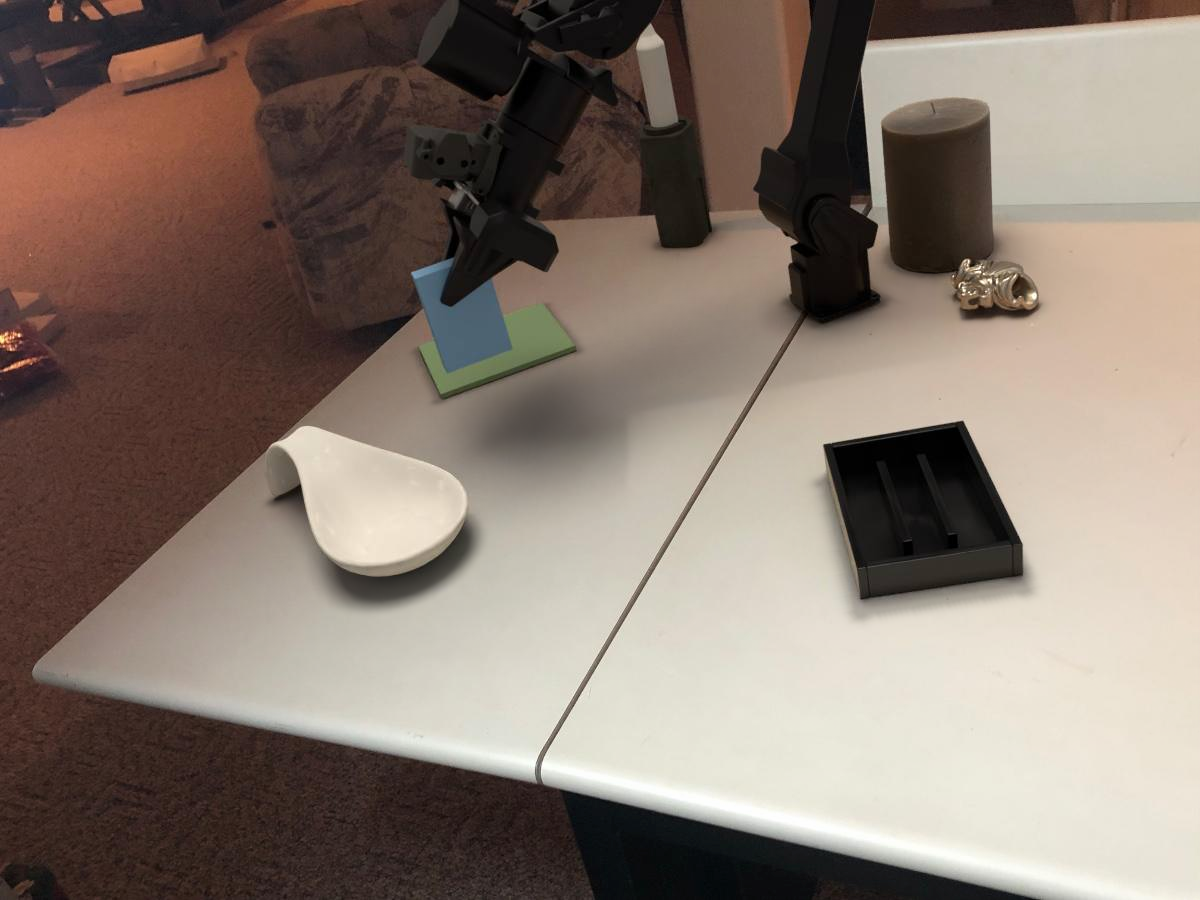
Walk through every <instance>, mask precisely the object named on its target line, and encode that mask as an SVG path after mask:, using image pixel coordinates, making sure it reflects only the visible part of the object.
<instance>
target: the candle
mask: <svg viewBox="0 0 1200 900" xmlns="http://www.w3.org/2000/svg"><path fill="white" fill-rule="evenodd" d="M635 50H636V51H635V52H636V55H637V61H638V65H639V70H640V76H641V80H642V85H643V90H644V91H643V92H644V95H645V101H646V105H647V111H648V116H649V120H648V121H647V122H646V124H644V125H643V131H642V132H641V133H640V134H639V135H638V140H639V145H640V151H641V156H642V161H643V165H644V169H645V175H646V181H647V185H648V189H649V193H650V198H651V199H650V200H651V204H652V209H653V214H654V218H655V219H654V220H655V223H656V224H655V225H656V229H657V232H658V233H657V234H658V239H659V243H660V246H661V247H662V248H694V247H698V246H700V245H701V244H703V243H704V240H705V238H706V237H707V236H708V234H710V233H712V231H713V227H712V221H711V214H710V210H709V203H708V198H707V197H708V196H707V192H706V187H705V181H704V175H703V170H702V163H701V157H700V153H699V148H698V141H697V136H696V130H695V125H694V120H693V119H691V118H686V115H683V114H678V111H677V106H676V101H675V95H674V90H673V89H674V88H673V84H672V78H671V73H670V67H669V63H668V56H667V52H666V46H665V42H664V39H662V38H661V37H660V36H659V35H658V33H657V32H656V30H655V28H654V27H653V25H652V22H651V23H650V24H649V26H648V27H647V28H646V29H645V30H644V32H643V33H642V34H641V35H640V36H639V38H638V41H637V44H636V47H635Z"/></svg>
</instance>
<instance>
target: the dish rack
mask: <svg viewBox="0 0 1200 900" xmlns="http://www.w3.org/2000/svg"><path fill="white" fill-rule="evenodd" d="M966 425H967V424H965V421H964V420H957V421H952V422H947V423H941V424H936V425H929V426H923V427H917V428H910V429H905V430H899V431H893V432H888V433H882V434H876V435H870V436H863V437H858V438H852V439H846V440H841V441H833V442H828V443H823V444H822V448H823V456H824V464H825V470H826V471H825V472H826V475H827V479H828V484H829V486H830V490H831V494H832V498H833V502H834V506H835V509H836V513H837V517H838V520H839V524H840V529H841V532H842V535H843V539H844V543H845V546H846V550H847V554H848V558H849V562H850V566H851V569H852V572H853V577H854V580H855V584H856V588H857V592H858V595H859V600H867V599H868V600H869V599H873V598H881V597H887V596H893V595H894V596H895V595H900V594H907V593H914V592H922V591H928V590H934V589H941V588H948V587H954V586H961V585H968V584H976V583H981V582H988V581H995V580H1001V579H1008V578H1015V577H1022V576H1024V544H1023V541H1022V540H1021V537H1020V535H1019V532H1018V530H1017V529H1016V527H1015V525H1014V523H1013V521H1012V519H1011V516H1010V514H1009V512H1008V510H1007V508H1006V506H1005V504H1004V502H1003V500H1002V497H1001V495H1000V494H999V492H998V489H997V488H996V486H995V483H994V481H993V479H992V477H991V475H990V473H989V470H988V468H987V467H986V465H985V463H984V460H983V458H982V456H981V455H980V452H979V449H978V447H977V445H976V444H975V441H974V439H973V437H972V436H971V434H970V431H969V429H968V427H967V426H966Z"/></svg>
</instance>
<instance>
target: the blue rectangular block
mask: <svg viewBox="0 0 1200 900" xmlns="http://www.w3.org/2000/svg"><path fill="white" fill-rule="evenodd" d="M453 260H454V258H451V259H448V260H445V261H442V260H441V261H442V262H441V261H439V262H437V263H435V264H431V265H428V266H425V267H423V268H419V269H417V270H415V271H411V272H410V274H411V278H412V280H413V283H414V286H415V289H416V291H417V294H418V297H419V300H420V303H421V305H422V308H423V312H424V315H425V318H426V321H427V324H428V326H429V329H430V332H431V336H432V338H433V340H434V341H435V344H436V346H437V349H438V352H439V355H440V358H441V361H442V364H443V366H444V368H445V370H446V372H447V373H450V372H453V371H456V370H458V369H461V368H464V367H466V366H469V365H472V364H474V363H477V362H480V361H482V360H485V359H488V358H490V357H493V356H496V355H499V354H501V353H504V352H507V351H509V350H512V349H513V348H512V344H511V341H510V338H509V335H508V331H507V328H506V325H505V321H504V318H503V316H504V315H503V312H502V308H501V305H500V301H499V299H498V295H497V292H496V289H495V285H494V282H493V279H492V278H493V277H492V278H491V279H489V280H488V281H487V282H485V283H484V284H482V285H481V286H480V287H478V288H477V289H476V290H474V291H473V292H472V293H470V294H469V295H468V296H466V297H465V298H463V299H462V300H461V301H459V302H458V303H457V304H455V305H454V306H453V307H449V306H446V305H444V304H442V303H441V302H440V298H441V294H442V291H443V288H444V285H445V282H446V279H447V276H448V274H449V271H450V268H451V265H452V263H453Z"/></svg>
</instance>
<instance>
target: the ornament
mask: <svg viewBox="0 0 1200 900" xmlns="http://www.w3.org/2000/svg"><path fill="white" fill-rule="evenodd" d="M970 264H971V260H970V259H965V260H963V261H962V263H961V265H960V267H959V269H957V271H956V273H955V274H952V275H951V276H950V279H951V287H952V288H953V289H955V290H956V296H957V298H958V299H960V305H961V308H962V309H963V310H976V309H978V308H979V306H981V307H983V308H985V309H989V308H992V307H993V305H994V304H995V305H996V306H997V307H999V308H1001V309H1002V310H1005V311H1013V312H1014V311H1020V310H1027V311H1028V310H1029V311H1030V310H1033V309H1035V308H1036V307H1037V304H1038V302H1039V298H1040V297H1039V296H1040V294H1039V289H1038V288H1037V285H1036V283H1035V282H1034V279H1032V277H1031V276H1029V275H1028V274H1027V273H1025V272H1024V267H1023V265H1021V264H1020V263H1017V262H1014V261H1010V260H1007V259H1004V260H995V259H994V260H991V261H987V260H985V259H983V260H982V259H981V260H976V261H975V264H974V265H973V266H971V265H970ZM1015 295H1016V296H1017V295H1018V297H1017V298H1016V297H1014V296H1015Z"/></svg>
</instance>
